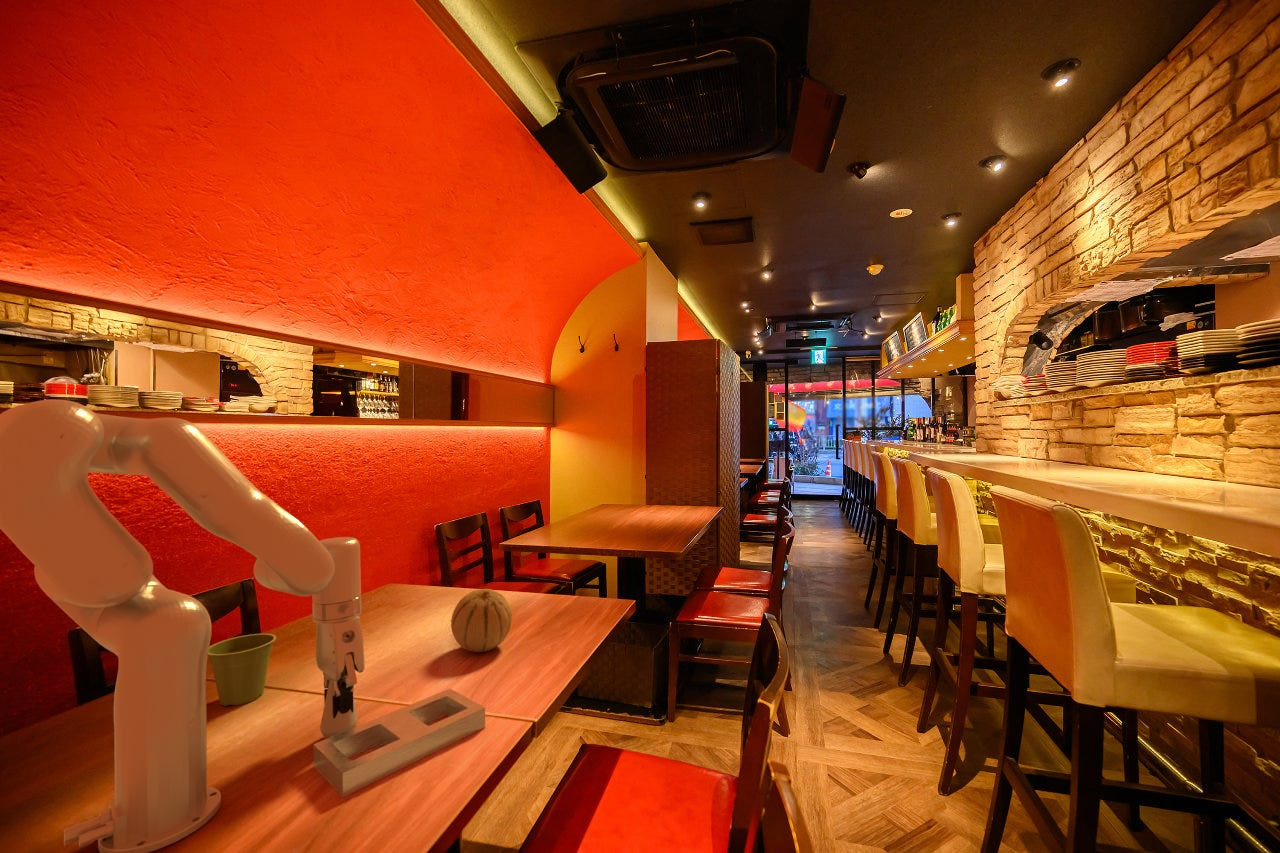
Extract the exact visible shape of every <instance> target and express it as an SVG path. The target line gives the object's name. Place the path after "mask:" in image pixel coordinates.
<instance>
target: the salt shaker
mask: <svg viewBox="0 0 1280 853" xmlns="http://www.w3.org/2000/svg"><path fill="white" fill-rule="evenodd" d="M340 675H341V676H342V675H345V672H343V673H340ZM325 677H326V679H327V680H329V685H328V688H327V689H328V690H327V695H326V700H325V705H324V704H323V705H324V707H323V712H322V715H321V716H322V717H321V721H320V725H319V728H320V732H321V735H322V736H323V738H324V740H325V739H327V738H330V737H332V736H335V735H337V734H340V733H342V732H345V731H347V730H349V729H352V728H354V727H357V724H358V721H359V720H358V719H359V717H358V712H357V708H356V703H355V698H354V696H353V713H352V711H351V709H350V710H349V711H348V712H347V713H344V714H341V713H340V712H339V711H338V713H337V715H336V717H335V719H334V718H333V703H332V696H334V695H335V691H334V679H333V678H331V677H330V676H328V675H327V674H326V673H325ZM345 680H346V679H344V680H341V681H340V685H341V683H342V682H344V681H345Z"/></svg>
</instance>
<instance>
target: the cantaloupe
mask: <svg viewBox="0 0 1280 853" xmlns="http://www.w3.org/2000/svg"><path fill="white" fill-rule="evenodd" d="M512 616H513V614H512V609H511V607H510V604H509V602H508V601H507V598H506V597H504V595H503V594H502V593H500V592H498V591H496V590H493V589H490V588H481V589H476V590H472V591H470V592H469V593H466V595H464V596H463V597H462V598H461V599H460V600H459V601H458V603H457V604H456V606H455V608H454V610H453V612H452V615H451V620H450V628H451V632H452V635H453V637H454V639H455V641H456V643H458V644H459V646H460V647H461V648H462V649H464V650H465V651H466V650H467V651H470V652H474V653H482V652H488V651H491V650H493V649H495V648H497V647H498V646H499V645H501V643H503V642H504V640H505V639H506V638H507V636H508V634H509V632H510V629H511V627H512V620H513V617H512Z"/></svg>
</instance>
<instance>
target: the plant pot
mask: <svg viewBox="0 0 1280 853" xmlns="http://www.w3.org/2000/svg"><path fill="white" fill-rule="evenodd" d="M276 639H277V636H276V635H275V634H272V633H254V634H252V633H251V634H248V635H247V634H246V635H241V636H235V637H230V638H227V639H224V640H222V641H218V642H217V643H213V644H212V645H209V651H208V659H209V663H210V665H211V668H212V671H213V677H214V681H215V685H216V689H217V690H216V691H217V695H218V701H219V704H220V705H221V706H224V707H228V706H229V705H233V706H240V705H243V704H246V703H249V702H252V701H254V700H257V699H258V698H259V697H260V696H261V695H263V694H264V690H265V685H266V680H267V673H268V668H269V661H270V657H271V652H272V650H273V644H274V642H275V641H276Z"/></svg>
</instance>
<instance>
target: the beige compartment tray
mask: <svg viewBox="0 0 1280 853" xmlns="http://www.w3.org/2000/svg"><path fill="white" fill-rule="evenodd" d="M445 714H448V715H447V716H448V717H446V718H443V719H441V720H439V721H437V722H435V723H433V724H430V725H427V724H429V723H431V722H433V721H435V720H437V718H438V719H439V717H440V718H442V717H444V716H446V715H445ZM443 715H444V716H443ZM449 715H450V716H449ZM441 716H442V717H441ZM484 728H486V707H485V706H483V705H481V704H480V703H478V702H475V701H474V700H472V699H470V698H468V697H467V696H464V695H463V694H462V693H459V692H457V691H456V690H454V689H452V688H448V689H446V690H443V691H440V692H438V693H436V694H434V695H430V696H428V697H426V698H423V699H421V700H418V701H415V702H413V703H411V704H408V705H407V706H403V707H401V708H400V709H395V710H394V711H392V712H389V713H386V714H384V715H382V716H379V717H377V718H374V719H372V720H370V721H367V722H365V723H361V724H360V725H356V727H354V728H352V729H349V730H347V731H345V732H342V733H340V734H337V735H335V736H332V737H330V738H327V739H325V738H324V739H322V740H320V741H318V742H316V743H315V742H314V744H313V747H312V748H313V767H314V768H315V769H316V770H317V772H318V773H319V774H320V775H322V777H323V778H324V779H325V780H326V781H327V782H328V783H329V784H330V785H331V786H332V787H333V789H334V790H335V791H336V792H337V793H338V794H339V795H340V796H341V797H342V798H345V797H348V795H351V794H352V793H354V792H357V791H359V790H361V789H363V788H364V787H367V786H369V785H371V784H373V783H375V782H377V781H379V780H381V779H383V778H385V777H387V776H389V775H391V774H393V773H395V772H397V771H400V770H402V769H404V768H405V767H408V766H410V765H411V764H413V763H416V762H417V761H419V760H422V759H423V758H425V757H427V756H430V755H431V754H434V753H436V752H438V751H440V750H441V749H444V748H446V747H448V746H450V745H452V744H454V743H456V742H459V741H460V740H462V739H464V738H467V737H468V736H471V735H472V734H474V733H476V732H479V731H480V730H482V729H484ZM379 745H381V747H379V748H377V749H375V750H372V751H370V752H369V753H366V754H364V755H361V756H359V757H357V758H355V759H352V760H351V759H350V758H352V757H354V756H356V755H359V754H361V753H363V752H365V751H368V750H370V749H373V748H375V747H377V746H379Z"/></svg>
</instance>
